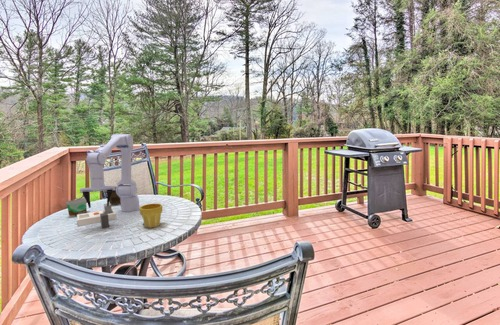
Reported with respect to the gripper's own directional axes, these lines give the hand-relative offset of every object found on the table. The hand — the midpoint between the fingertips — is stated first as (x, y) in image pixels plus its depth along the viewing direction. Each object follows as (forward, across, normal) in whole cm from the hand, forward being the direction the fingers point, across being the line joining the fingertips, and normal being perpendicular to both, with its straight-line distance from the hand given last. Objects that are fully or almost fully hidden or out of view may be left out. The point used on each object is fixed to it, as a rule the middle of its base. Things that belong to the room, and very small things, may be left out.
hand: (98, 206), depth 137 cm
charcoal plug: (+9, +4, +13) cm, 17 cm away
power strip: (+11, -2, +13) cm, 17 cm away
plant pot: (+11, +23, -7) cm, 26 cm away
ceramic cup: (+9, +7, +43) cm, 44 cm away
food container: (+10, -10, +28) cm, 31 cm away
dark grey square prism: (+11, +2, 0) cm, 11 cm away
